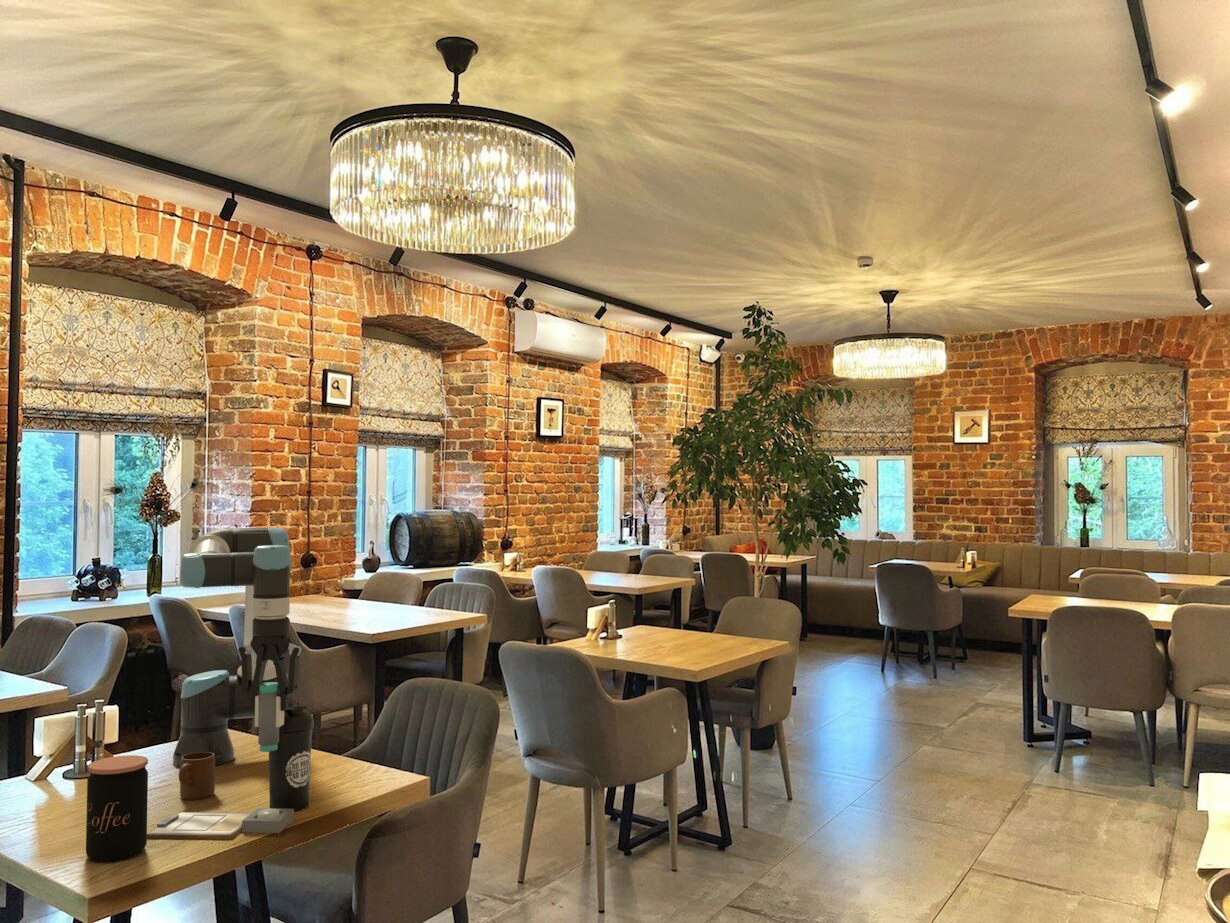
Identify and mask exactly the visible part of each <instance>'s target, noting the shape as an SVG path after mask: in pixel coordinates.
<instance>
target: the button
mask: <svg viewBox="0 0 1230 923" xmlns="http://www.w3.org/2000/svg"><path fill="white" fill-rule="evenodd" d="M278 816H279V810H277V809H265V810H262V811H259V812H258V813H257V818H269V819H275V818H276V817H278Z"/></svg>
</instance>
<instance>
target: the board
mask: <svg viewBox="0 0 1230 923" xmlns="http://www.w3.org/2000/svg"><path fill="white" fill-rule="evenodd" d="M251 813H252V812H205V811H203V812H199V811H195V812H193V811H180V812H179V811H178V813H176V814H170V815H169V816H167V817H166V818H164V819H163V820H161V821H160V822H158V823H157V824H156V826H155V827H154V828H153V829H151V830H150V831H147V839H176V840H178V839H180V840H181V839H187V840H189V839H191V840H193V839H194V840H196V839H197V840H198V839H199V840H232V839H233V838H235V837H236V836H238V834H239V832H240V833H242V820H243V819H245V818H246V817H247V816H249V815H250V814H251Z"/></svg>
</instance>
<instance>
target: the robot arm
mask: <svg viewBox="0 0 1230 923" xmlns="http://www.w3.org/2000/svg"><path fill="white" fill-rule="evenodd" d="M292 564H293V563H292V555H291V549H290V541H289V533H288V531H287V530H286V529H284V528H281V527H270V526H268V527H242V528H241V527H240V528H239V527H238V528H237V527H235V528H232V527H226V528H220V529H216V530H213V531H209V532H207V533H204V534H202V535H200V536H199V537H197V538H196V539H195V540H194V541H193V542H192V544H191V545H190V548H189V551H188V553H185V554H183V555H182V556H181V559H180V585H181V586H182V587H183V588H194V589H200V588H214V587H215V588H216V587H218V588H219V587H245V589H244V590H245V592H244V595H245V597H244V629H243V630H244V631H243V632H244V634H243V645H242V646H240V647H239V648H238V653H239V655H240V659H241V665H240V666H239V667H238V668H237V671H236V672H237V674H236V675H230V673H229V671H228V670H226V669H221V670H220V669H219V670H211V671H210V670H209V671H205V672H201V673H197V674H193V675H190V676H188V677H186V678H185V679H184V680H183V682H182V684H181V694H180V699H181V705H180V706H181V707H180V708H181V709H180V710H181V712H180V735H179V738H178V741H177V743H176V746H175V750H174V752H173V753H172V754H173V755H172V765H173V766H175V767H178V768H180V765H181V758H182V756H184V755H187V754H190V753H196V752H211V753H214V754H215V766H218V765H224V764H226V763H228V762H231V761H232V760H234V759H235V747H234V745H233V741H232V739H231V735H230V732H229V730H228V726H229V725H228V724H229V723H228V721H229V720H237V719H251V718H254V727H255V728H259V684H262V683H267V682H278V687H279V693H280V694H279V696H277V697H276V727H280V726H282V725H284V711H285V710H287V709H288V703H290V702H289V698H290V694H293V693H294V692H296V691H298V688H299V673H300V672H299V671H300V657H301V654H302V652H303V650H304V649H303V648H304V647H303V646H302V645H298V646H297V645H296V644H294V643H292V641H291V639H290V618H289V617H288V616H289V614H291V613H290V609H291V608H290V607H291V606H290V600H291V599H290V597H291V596H290V587H291V586H290V585H291V584H290V582H291V576H290V575H291V571H292V570H293V566H292ZM287 651H288V652H289V655H290V658H289V663H288V664H289V667H288V672H287V668H286V660H285V659H286V658H285V655H286V653H287Z"/></svg>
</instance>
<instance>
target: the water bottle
mask: <svg viewBox="0 0 1230 923" xmlns="http://www.w3.org/2000/svg"><path fill="white" fill-rule="evenodd" d="M307 709H308V706H307V705H303V704H302V705H293V703H292V702H288V709H287V710H285V711H284V725H282V726H280V727H279V743H278V749H277V750H275V751H270V752H268V780H269V781H268V783H269V787H268V788H269V808H275V809H294V813H296V812H300V811H303V810H305V809H307V808H309V806H310V789H311V788H310V785H311V784H310V783H311V781H310V780H311V761H312V760H311V758H312V735H313V733H312V732H313V729H314V725H315V724H314V723H315V722H314V721H315V719H314V716H313V715H312V714H311V712H309V711H308V710H307ZM306 807H307V808H306ZM302 809H303V810H302Z"/></svg>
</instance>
